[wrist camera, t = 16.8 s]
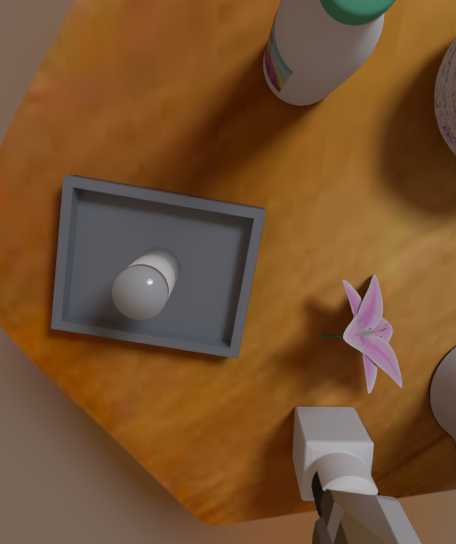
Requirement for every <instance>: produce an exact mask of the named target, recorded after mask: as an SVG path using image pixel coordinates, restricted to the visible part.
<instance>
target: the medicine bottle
mask: <svg viewBox="0 0 456 544" xmlns="http://www.w3.org/2000/svg"><path fill="white" fill-rule="evenodd" d="M373 448H374V444H373V441H372V439H371V438H370V436H369V434H368V432H367V430H366V428H365V426H364V425H363V423H362V421H361V419H360V417H359V415H358V413H357V412H356V410H355V408H353V407H301V406H297V407H295V412H294V431H293V450H292V459H293V464H294V468H295V473H296V477H297V482H298V486H299V490H300V495H301V499H302V500H303V501H315V504H316V508H317V512H318V514H319V516H320V518H321V517H322V516H323V512H322V509H321V505H320V503H321V500H322V496H323V493H324V492H325V490H326V489H332V490H339V491H346V492H353V493H360V494H366V495H380V494H379V491H378V489H377V487H376V485H375V483H374V481H373V479H372V477H371V468H372V458H373Z"/></svg>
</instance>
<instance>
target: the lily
mask: <svg viewBox="0 0 456 544" xmlns="http://www.w3.org/2000/svg"><path fill="white" fill-rule="evenodd" d="M343 283H344V286H345V289H346V292H347V296H348V299H349V302H350V305H351V309H352V312H353V317H354V318H353V320H352V321H351V323H350V324H349V326H348V327H347V328H346V330H345V332H344V334H343V335H321V337H328V338H344V340H345V342H347V343H348V344H349V345H351V346H352V347H354V348H356V349H357V350H359V351H361V352H362V356H363V361H364V367H365V374H366V381H367V389H368V393H371V391H372V389H373V386H374V383H375V380H376V376H377V365H378V366H379V367H380V368H381V369H382V370H384V371H385V372H386V373H387V374H388V375H389V376H390V377H391V378H392V379H393V380H394V381H395V382H396V383H397V384H398V385H399V386H400V387H402V378H401V373H400V369H399V365H398V362H397V358H396V356H395V354H394V351H393V349H392V348H391V346H390V345H389V343H388V342H389V340H390V338H391V336H392V332H393V330H392V326H391V325H390V323H389V322H388V321H386V320H385V319H384V318H382V313H383V301H382V295H381V291H380V287H379V283H378V280H377V278H376V276H375V274H374V275H373V277H372V280H371V283H370V286H369V289H368V291H367V293H366V295H365V297H364V299H363V301H362V300H361V297H360V296H359V294H358V293H357V291H356V290H355V289H354V288H353V287H352V286H351V285H350V284H349V283H348V282H347V281H346V280H343Z"/></svg>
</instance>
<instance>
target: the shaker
mask: <svg viewBox="0 0 456 544" xmlns="http://www.w3.org/2000/svg"><path fill="white" fill-rule="evenodd" d="M179 275H180V263H179V260H178V259H177V257H176V256H175V254H173V253H172V252H171V251H169V250H168V249H165V248H160V247H156V248H151V249H149V250H147V251H146V252H144V253H143V254H142V255H141V256H140V257H139V258H137V259H136V260H135V261H134V262H133V263H132V264H131V265H130V266H128V267H127V268H126V269H125V270H124V271H123V272H122V273H120V274H119V275H118V276H117V278H116V279H115V281H114V283H113V287H112V298H113V301H114V304H115V306H116V307H117V309H118V310H119V311H120V312H121V313H122V314H123V315H125V316H127V317H129V318H131V319H135V320H147V319H150V318H152V317H154V316H156V315H157V314H158V313H159V312H160V311H161V310H162V309H163V307H164V305H165V303H166V302H167V300H168V298H169V296H170V294H171V292H172V290H173V288H174V286H175V284H176V282H177V280H178V278H179Z"/></svg>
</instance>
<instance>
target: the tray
mask: <svg viewBox="0 0 456 544" xmlns="http://www.w3.org/2000/svg"><path fill="white" fill-rule="evenodd" d="M265 213H266V210H265V209H264V208H260V207H255V206H249V205H243V204H237V203H232V202H226V201H220V200H215V199H209V198H203V197H197V196H192V195H186V194H180V193H174V192H169V191H163V190H157V189H151V188H146V187H140V186H134V185H128V184H123V183H117V182H111V181H105V180H100V179H94V178H88V177H83V176H77V175H64V176H63V188H62V200H61V212H60V224H59V236H58V248H57V261H56V273H55V285H54V297H53V309H52V321H51V329H57V330H63V331H69V332H75V333H82V334H88V335H94V336H100V337H106V338H113V339H119V340H125V341H131V342H137V343H144V344H150V345H156V346H162V347H168V348H175V349H181V350H187V351H193V352H200V353H206V354H212V355H218V356H224V357H231V358H237V359H238V354H239V349H240V344H241V339H242V333H243V328H244V323H245V318H246V313H247V307H248V302H249V297H250V292H251V286H252V281H253V276H254V271H255V265H256V260H257V255H258V250H259V244H260V239H261V234H262V229H263V223H264V218H265ZM156 247H160V248H165V249H168V250H169V251H171V252H172V253H173V254H175V256H176V257H177V259H178V260H179V263H180V275H179V278H178V280H177V282H176V284H175V286H174V288H173V290H172V292H171V294H170V296H169V298H168V300H167V302H166V303H165V305H164V307H163V309H162V310H161V311H160V312H159V313H158V314H157V315H156V316H154V317H152V318H150V319H147V320H135V319H131V318H129V317H127V316H125V315H123V314H122V313H121V312H120V311H119V310H118V309H117V307H116V306H115V304H114V301H113V298H112V287H113V283H114V281H115V279H116V278H117V276H118V275H119V274H120V273H122V272H123V271H124V270H125V269H126V268H127V267H128V266H130V265H131V264H132V263H133V262H134V261H135V260H136V259H137V258H139V257H140V256H141V255H142V254H143V253H144V252H146V251H147V250H149V249H151V248H156Z"/></svg>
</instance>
